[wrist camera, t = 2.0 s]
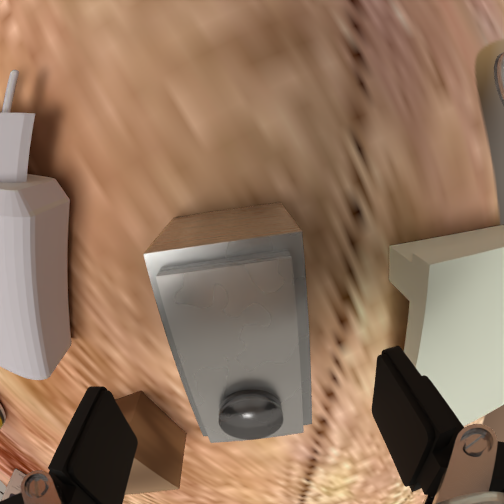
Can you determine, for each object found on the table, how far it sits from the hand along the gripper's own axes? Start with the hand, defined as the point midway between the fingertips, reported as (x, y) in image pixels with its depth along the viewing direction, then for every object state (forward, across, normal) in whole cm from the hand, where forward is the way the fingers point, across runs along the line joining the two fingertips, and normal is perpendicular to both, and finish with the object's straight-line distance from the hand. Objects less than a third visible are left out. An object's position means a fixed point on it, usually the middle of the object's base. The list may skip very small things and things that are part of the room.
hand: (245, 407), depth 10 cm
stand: (+7, -14, +4) cm, 16 cm away
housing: (+7, 0, -1) cm, 7 cm away
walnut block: (+7, +9, +8) cm, 14 cm away
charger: (+7, +12, -8) cm, 16 cm away
